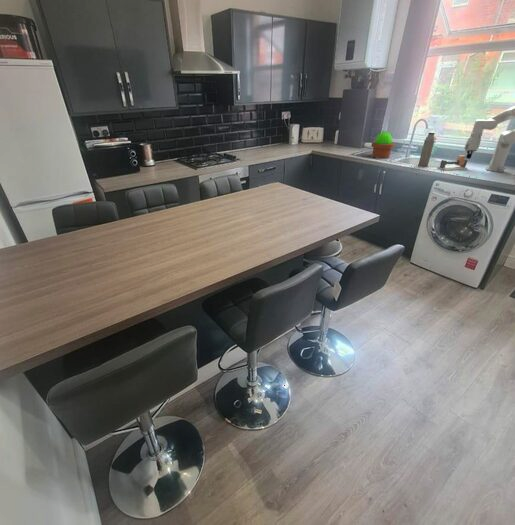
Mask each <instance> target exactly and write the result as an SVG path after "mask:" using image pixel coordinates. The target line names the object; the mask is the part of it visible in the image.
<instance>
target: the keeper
mask: <svg viewBox="0 0 515 525" xmlns="http://www.w3.org/2000/svg"><path fill="white" fill-rule="evenodd" d="M466 157H467V155H463V154H462V155H461V154H459V155H458V156H457V158H456V160H455V161H460V162H459V164H454V166H463V165H464V162H465V159H467V158H466Z"/></svg>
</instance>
